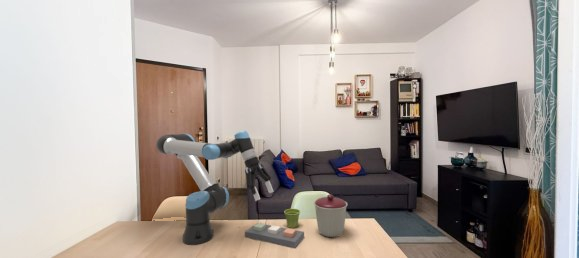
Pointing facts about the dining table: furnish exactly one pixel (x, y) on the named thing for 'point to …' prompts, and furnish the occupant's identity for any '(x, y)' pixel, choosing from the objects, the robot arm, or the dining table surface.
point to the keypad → (275, 237)
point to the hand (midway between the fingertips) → (265, 196)
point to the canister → (330, 215)
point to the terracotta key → (289, 233)
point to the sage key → (259, 227)
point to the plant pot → (292, 217)
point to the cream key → (274, 229)
